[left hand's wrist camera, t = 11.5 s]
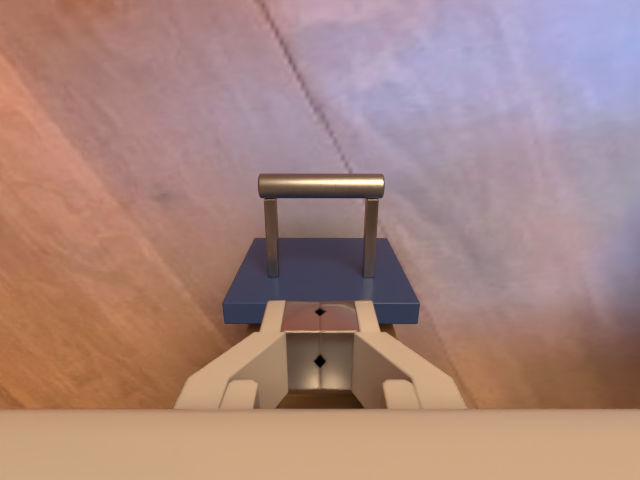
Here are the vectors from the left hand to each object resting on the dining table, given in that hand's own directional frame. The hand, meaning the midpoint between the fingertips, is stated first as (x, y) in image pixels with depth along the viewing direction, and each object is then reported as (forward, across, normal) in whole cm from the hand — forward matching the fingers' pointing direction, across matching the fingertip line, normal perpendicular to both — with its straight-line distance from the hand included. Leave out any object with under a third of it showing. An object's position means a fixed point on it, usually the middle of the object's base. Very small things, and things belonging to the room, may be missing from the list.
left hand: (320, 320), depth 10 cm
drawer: (+15, 0, -7) cm, 16 cm away
